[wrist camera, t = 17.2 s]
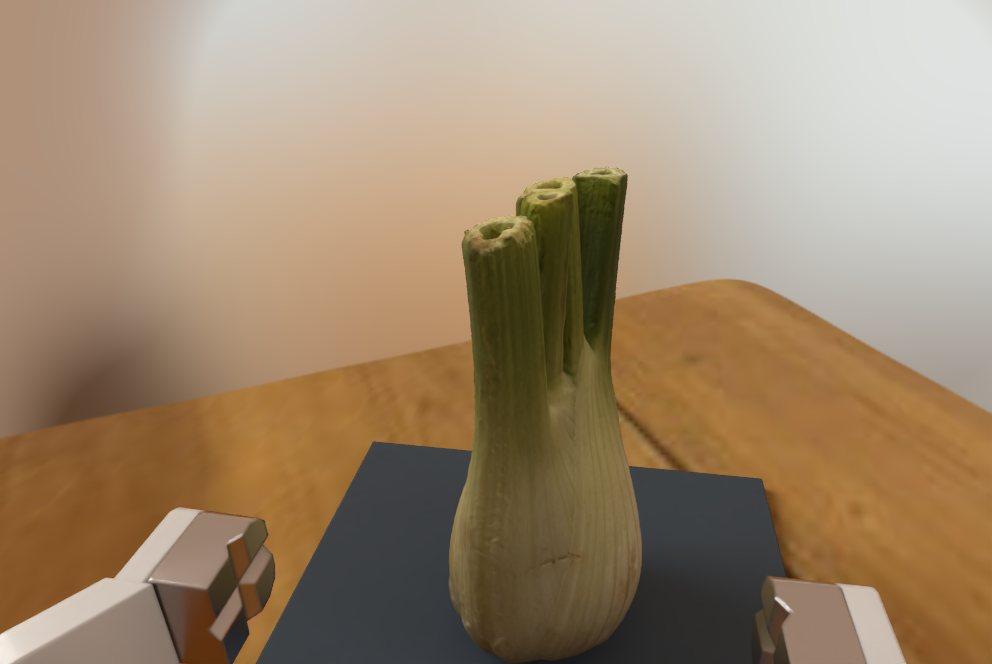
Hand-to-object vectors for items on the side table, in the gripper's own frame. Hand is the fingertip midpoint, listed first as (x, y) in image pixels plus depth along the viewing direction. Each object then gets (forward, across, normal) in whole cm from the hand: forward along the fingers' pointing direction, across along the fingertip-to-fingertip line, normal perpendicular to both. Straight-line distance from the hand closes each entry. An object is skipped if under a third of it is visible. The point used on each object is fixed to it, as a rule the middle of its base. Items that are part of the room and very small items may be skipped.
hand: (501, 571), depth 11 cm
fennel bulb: (+5, 0, +7) cm, 9 cm away
